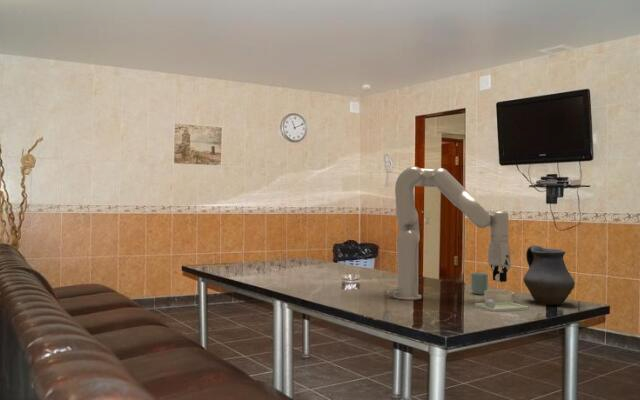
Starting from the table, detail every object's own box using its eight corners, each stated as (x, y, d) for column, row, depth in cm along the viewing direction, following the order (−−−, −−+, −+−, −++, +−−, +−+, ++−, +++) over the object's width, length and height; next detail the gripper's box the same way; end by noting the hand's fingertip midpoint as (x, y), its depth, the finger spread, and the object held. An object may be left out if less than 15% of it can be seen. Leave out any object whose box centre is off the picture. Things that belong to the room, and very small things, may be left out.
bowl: (496, 305, 228) (496, 295, 228) (478, 300, 240) (478, 290, 240) (520, 304, 232) (520, 293, 232) (501, 299, 244) (501, 289, 244)
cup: (488, 295, 253) (488, 274, 253) (471, 295, 255) (471, 274, 255) (486, 293, 261) (487, 272, 261) (470, 292, 262) (470, 272, 262)
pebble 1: (489, 309, 216) (489, 299, 217) (483, 307, 220) (483, 298, 220) (497, 309, 218) (497, 299, 218) (491, 307, 222) (491, 297, 222)
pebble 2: (498, 283, 232) (498, 274, 232) (493, 282, 236) (493, 273, 236) (506, 282, 234) (506, 273, 234) (500, 281, 237) (500, 272, 237)
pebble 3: (498, 301, 235) (499, 293, 235) (492, 299, 239) (493, 290, 238) (506, 301, 236) (507, 293, 236) (500, 299, 240) (501, 290, 240)
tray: (493, 313, 212) (493, 309, 212) (474, 307, 224) (474, 303, 224) (529, 310, 218) (529, 306, 218) (508, 305, 230) (508, 301, 230)
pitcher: (551, 309, 221) (552, 249, 221) (510, 301, 240) (511, 245, 240) (584, 306, 230) (584, 247, 230) (542, 297, 249) (543, 244, 250)
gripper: (480, 238, 242) (480, 278, 241) (504, 240, 226) (505, 284, 226) (494, 238, 244) (494, 278, 244) (519, 240, 228) (519, 283, 228)
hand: (499, 280), depth 235 cm, fingers closed on pebble 2, 4 cm apart
